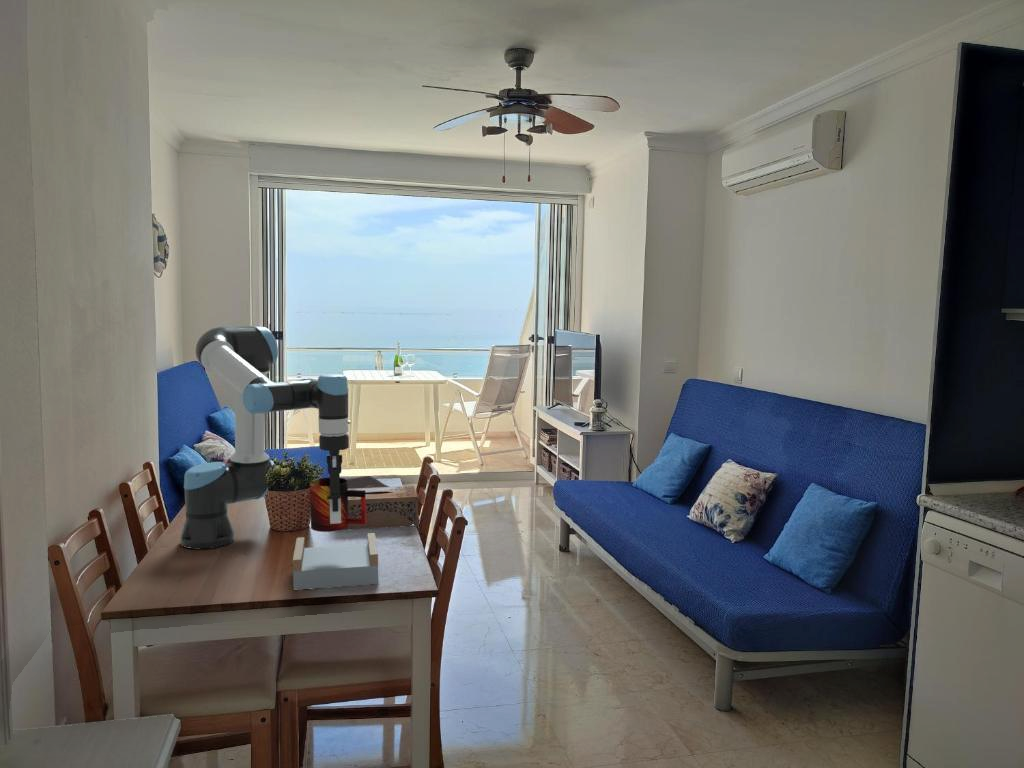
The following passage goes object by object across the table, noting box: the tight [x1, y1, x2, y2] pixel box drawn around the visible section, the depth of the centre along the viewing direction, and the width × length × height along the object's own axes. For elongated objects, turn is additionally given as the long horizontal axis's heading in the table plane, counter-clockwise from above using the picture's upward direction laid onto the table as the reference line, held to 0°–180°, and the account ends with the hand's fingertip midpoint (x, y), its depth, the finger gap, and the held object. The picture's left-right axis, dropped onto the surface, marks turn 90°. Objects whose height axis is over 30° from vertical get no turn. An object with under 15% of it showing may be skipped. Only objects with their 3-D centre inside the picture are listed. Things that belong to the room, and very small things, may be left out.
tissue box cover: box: [341, 485, 419, 531], centre depth 245 cm, size 26×14×10 cm, turn 102°
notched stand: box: [292, 532, 379, 590], centre depth 197 cm, size 21×18×8 cm
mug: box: [309, 477, 366, 533], centre depth 195 cm, size 10×14×12 cm
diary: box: [346, 475, 390, 489], centre depth 276 cm, size 19×25×5 cm
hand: (335, 517), depth 195 cm, fingers closed on mug, 10 cm apart
